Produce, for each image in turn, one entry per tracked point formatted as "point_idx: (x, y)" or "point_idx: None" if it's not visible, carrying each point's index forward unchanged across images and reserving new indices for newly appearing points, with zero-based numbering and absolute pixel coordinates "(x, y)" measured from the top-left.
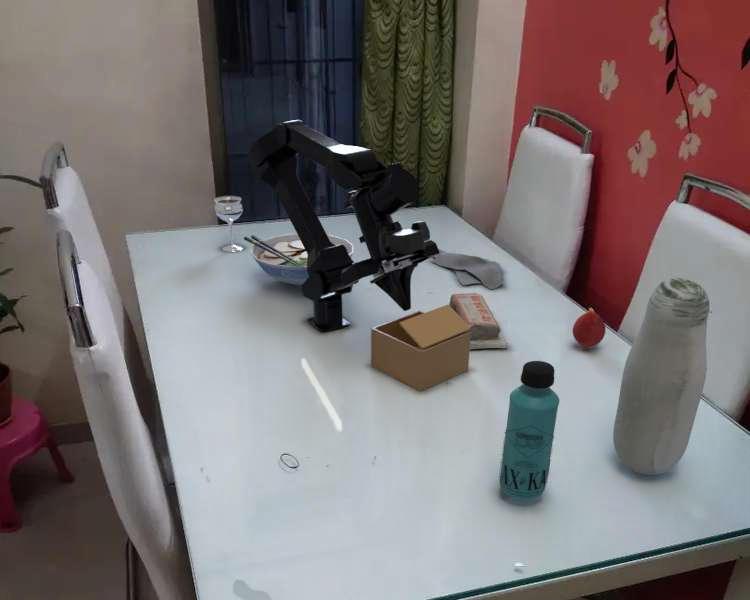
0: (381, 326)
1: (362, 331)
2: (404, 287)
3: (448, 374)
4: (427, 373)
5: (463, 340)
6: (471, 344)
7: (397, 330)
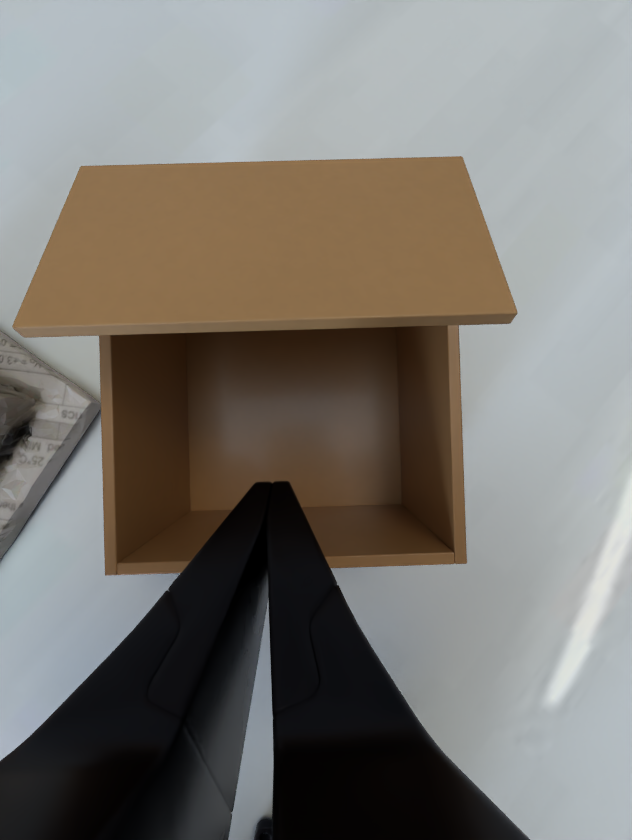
0: (401, 552)
1: (251, 749)
2: (227, 630)
3: None
4: None
5: None
6: (46, 369)
7: None
